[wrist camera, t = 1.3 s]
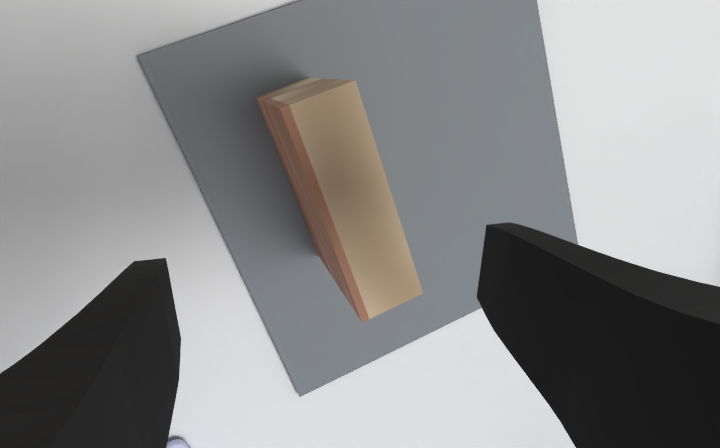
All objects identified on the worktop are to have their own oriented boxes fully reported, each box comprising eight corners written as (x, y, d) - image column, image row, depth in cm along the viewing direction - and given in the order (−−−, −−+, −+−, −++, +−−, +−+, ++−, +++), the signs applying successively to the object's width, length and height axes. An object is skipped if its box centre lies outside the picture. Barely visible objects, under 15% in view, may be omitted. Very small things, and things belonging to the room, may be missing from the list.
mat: (298, 393, 26) (299, 397, 26) (138, 56, 20) (137, 56, 19) (576, 257, 29) (580, 259, 29) (520, -74, 23) (524, -76, 23)
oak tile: (318, 256, 24) (362, 322, 18) (255, 97, 21) (279, 108, 15) (364, 236, 25) (423, 293, 18) (309, 77, 22) (355, 80, 15)
